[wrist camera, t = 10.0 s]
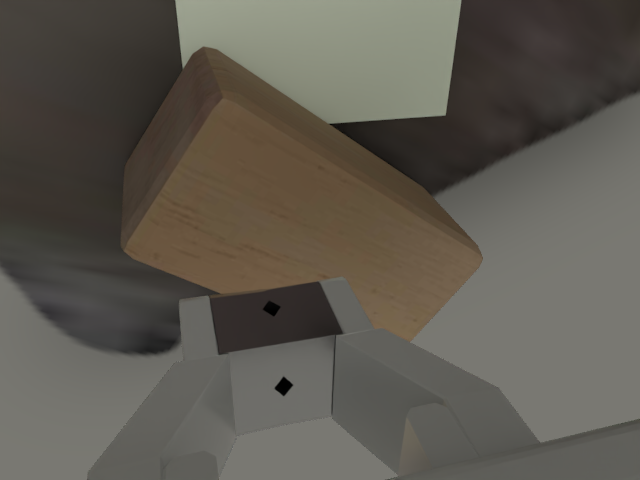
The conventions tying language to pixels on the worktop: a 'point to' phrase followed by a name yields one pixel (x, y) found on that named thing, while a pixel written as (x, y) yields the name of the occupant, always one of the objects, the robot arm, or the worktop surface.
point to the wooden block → (283, 202)
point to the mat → (335, 51)
